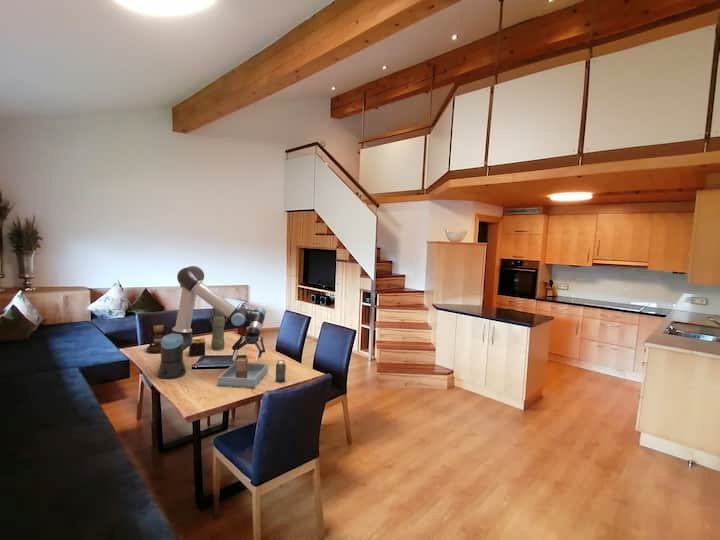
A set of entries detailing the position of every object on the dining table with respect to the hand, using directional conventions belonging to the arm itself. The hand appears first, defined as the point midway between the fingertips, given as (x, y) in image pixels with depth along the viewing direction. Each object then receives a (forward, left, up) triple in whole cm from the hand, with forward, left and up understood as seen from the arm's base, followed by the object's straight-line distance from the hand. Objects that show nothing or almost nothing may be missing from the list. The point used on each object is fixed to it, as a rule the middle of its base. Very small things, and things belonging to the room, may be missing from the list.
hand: (244, 361), depth 217 cm
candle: (-12, +61, -11) cm, 63 cm away
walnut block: (-2, -1, -10) cm, 10 cm away
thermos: (+4, +67, -11) cm, 68 cm away
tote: (0, +2, -11) cm, 11 cm away
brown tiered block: (-33, +81, -11) cm, 88 cm away
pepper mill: (+17, -12, -11) cm, 24 cm away
